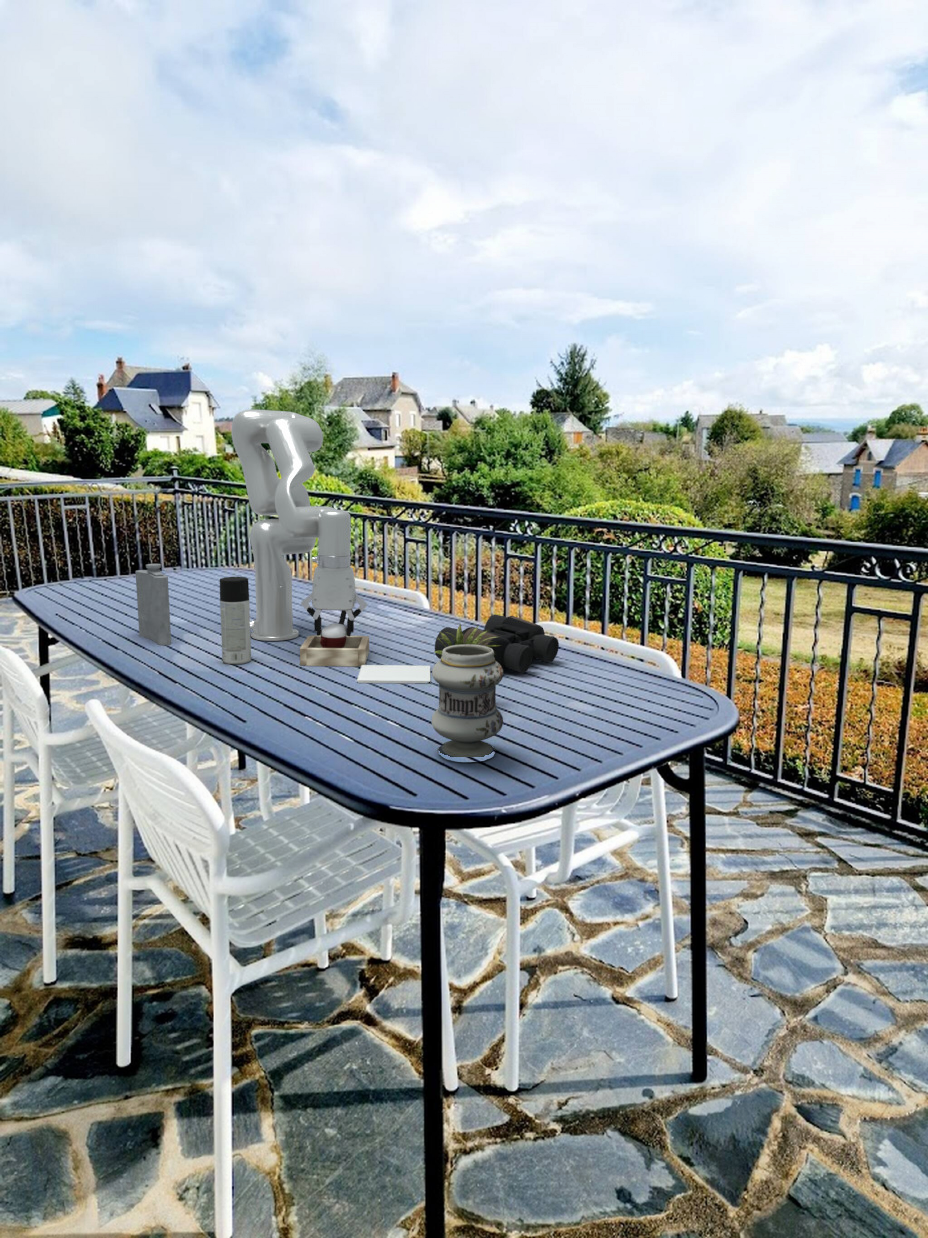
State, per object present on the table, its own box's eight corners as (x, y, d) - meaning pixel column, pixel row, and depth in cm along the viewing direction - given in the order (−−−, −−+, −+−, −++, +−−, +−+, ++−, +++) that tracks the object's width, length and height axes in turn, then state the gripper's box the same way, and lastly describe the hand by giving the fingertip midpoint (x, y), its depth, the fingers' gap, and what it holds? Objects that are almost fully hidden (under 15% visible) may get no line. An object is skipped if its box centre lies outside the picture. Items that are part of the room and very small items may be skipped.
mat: (357, 682, 174) (356, 680, 174) (361, 667, 187) (361, 665, 187) (430, 683, 175) (430, 681, 175) (430, 668, 188) (430, 665, 188)
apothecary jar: (443, 736, 142) (445, 638, 139) (509, 745, 139) (513, 644, 135) (420, 760, 131) (422, 654, 127) (491, 770, 127) (495, 661, 124)
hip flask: (137, 635, 215) (133, 561, 211) (152, 633, 217) (148, 560, 213) (161, 646, 203) (156, 568, 199) (176, 643, 206) (172, 567, 202)
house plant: (470, 719, 152) (473, 636, 148) (411, 706, 159) (412, 626, 156) (507, 701, 164) (509, 623, 160) (450, 690, 171) (452, 615, 167)
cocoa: (323, 655, 190) (322, 607, 187) (312, 648, 195) (311, 601, 192) (358, 649, 196) (358, 602, 192) (347, 642, 201) (346, 596, 197)
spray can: (257, 660, 192) (254, 577, 188) (238, 666, 186) (235, 581, 182) (235, 656, 194) (232, 575, 190) (216, 662, 188) (212, 578, 184)
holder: (299, 665, 187) (299, 649, 186) (309, 650, 202) (308, 635, 201) (364, 666, 188) (364, 650, 187) (369, 651, 203) (369, 635, 202)
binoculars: (498, 644, 212) (501, 608, 210) (566, 663, 201) (570, 624, 198) (432, 666, 189) (435, 625, 187) (504, 688, 178) (509, 645, 175)
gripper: (295, 563, 186) (295, 637, 190) (369, 565, 187) (368, 639, 191) (300, 558, 194) (300, 630, 198) (371, 561, 195) (370, 632, 199)
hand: (334, 634), depth 194 cm, fingers closed on cocoa, 6 cm apart
